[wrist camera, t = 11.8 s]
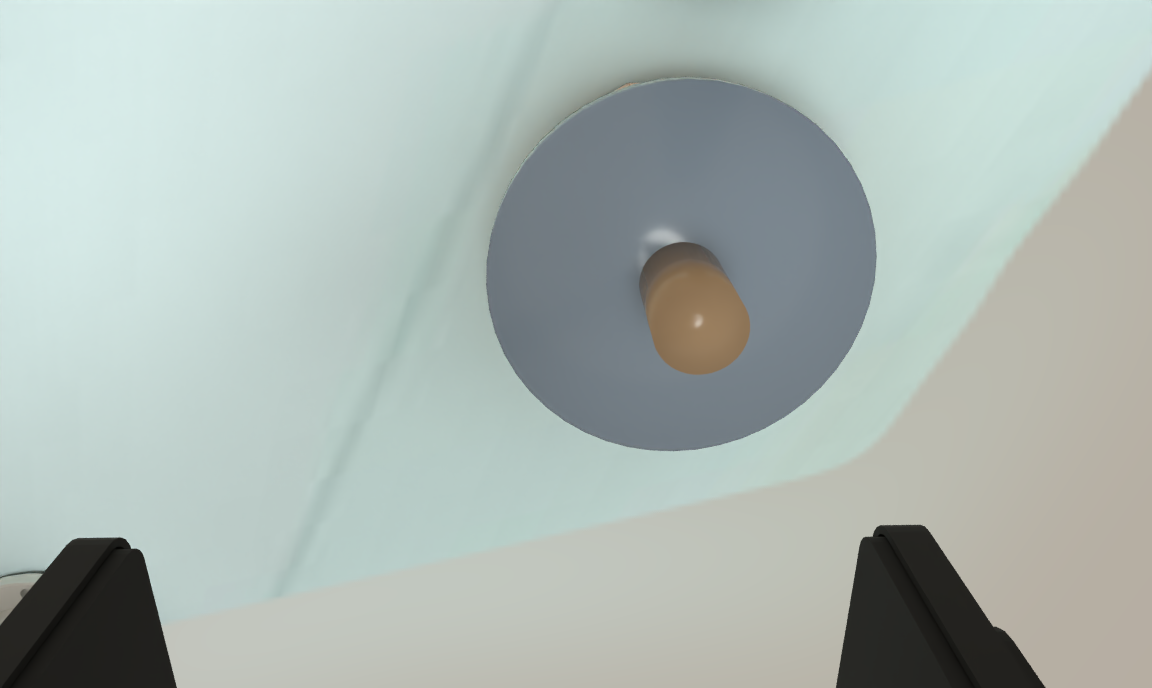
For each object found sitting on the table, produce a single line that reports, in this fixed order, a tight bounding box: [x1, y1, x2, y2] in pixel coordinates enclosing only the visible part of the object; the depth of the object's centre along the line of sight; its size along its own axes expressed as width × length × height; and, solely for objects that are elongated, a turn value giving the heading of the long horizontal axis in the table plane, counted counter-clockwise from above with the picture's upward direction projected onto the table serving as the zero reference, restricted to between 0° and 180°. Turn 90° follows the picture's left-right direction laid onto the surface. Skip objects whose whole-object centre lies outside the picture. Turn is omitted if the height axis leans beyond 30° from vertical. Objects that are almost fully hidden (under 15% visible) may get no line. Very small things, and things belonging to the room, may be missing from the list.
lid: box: [486, 77, 876, 451], centre depth 33 cm, size 16×16×6 cm
